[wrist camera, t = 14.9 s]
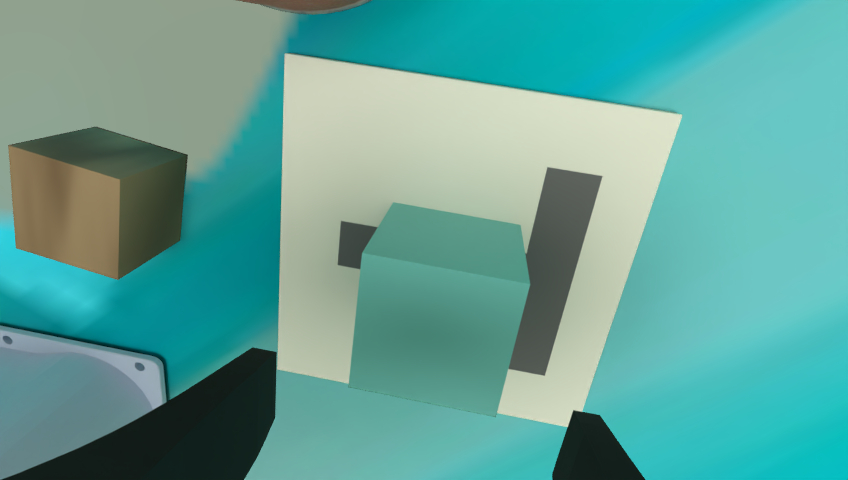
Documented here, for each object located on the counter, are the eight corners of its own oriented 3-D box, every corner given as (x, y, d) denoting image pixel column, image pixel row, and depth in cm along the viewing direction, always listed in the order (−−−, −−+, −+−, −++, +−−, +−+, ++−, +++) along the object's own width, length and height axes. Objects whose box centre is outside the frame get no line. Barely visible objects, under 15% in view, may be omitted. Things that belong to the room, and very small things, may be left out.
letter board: (282, 361, 23) (277, 369, 23) (291, 53, 18) (284, 53, 17) (574, 419, 22) (576, 428, 22) (676, 112, 17) (682, 115, 16)
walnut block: (181, 239, 22) (96, 213, 22) (188, 154, 20) (96, 126, 20) (118, 279, 18) (16, 248, 18) (120, 180, 16) (8, 145, 16)
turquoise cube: (379, 311, 21) (348, 387, 16) (393, 202, 19) (362, 252, 14) (494, 333, 21) (495, 417, 16) (520, 225, 19) (530, 284, 14)
